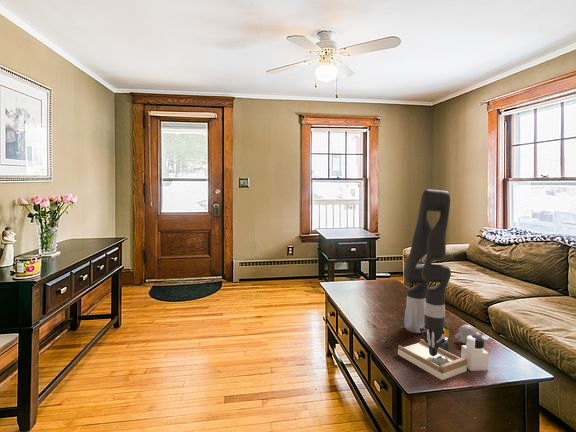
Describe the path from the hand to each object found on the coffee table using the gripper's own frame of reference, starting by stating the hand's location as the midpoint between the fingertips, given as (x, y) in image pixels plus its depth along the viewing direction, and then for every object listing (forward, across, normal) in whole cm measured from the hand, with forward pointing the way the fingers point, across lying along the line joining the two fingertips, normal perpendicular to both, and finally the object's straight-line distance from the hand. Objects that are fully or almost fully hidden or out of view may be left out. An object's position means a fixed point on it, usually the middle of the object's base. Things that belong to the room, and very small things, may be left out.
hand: (432, 355), depth 138 cm
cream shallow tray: (+4, -1, 0) cm, 4 cm away
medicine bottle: (+4, +9, +13) cm, 16 cm away
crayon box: (+4, -8, +14) cm, 17 cm away
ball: (+1, +4, 0) cm, 5 cm away
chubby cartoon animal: (+4, -4, +30) cm, 31 cm away
